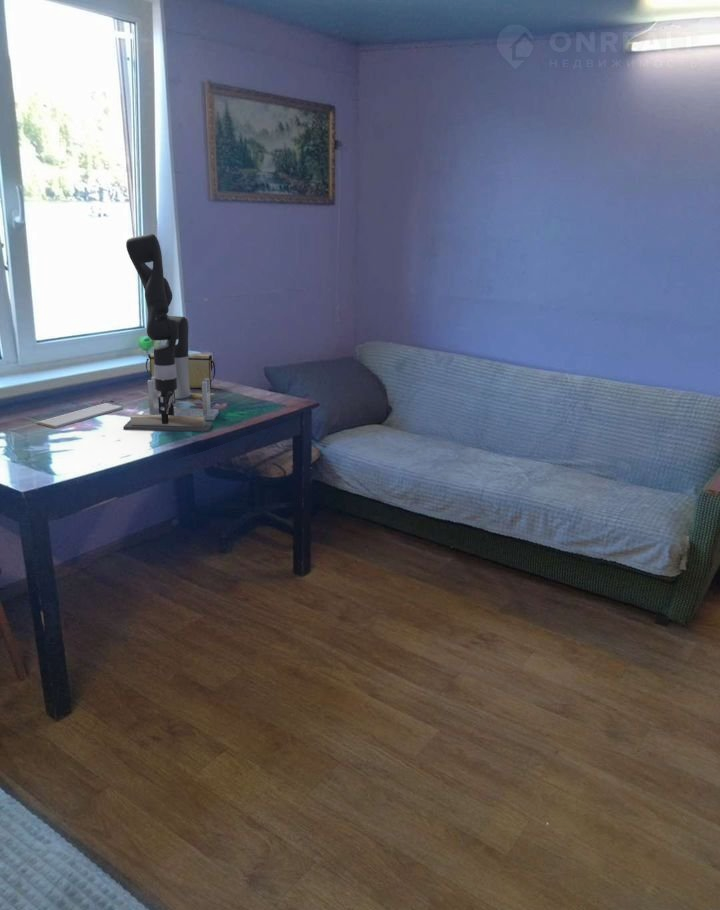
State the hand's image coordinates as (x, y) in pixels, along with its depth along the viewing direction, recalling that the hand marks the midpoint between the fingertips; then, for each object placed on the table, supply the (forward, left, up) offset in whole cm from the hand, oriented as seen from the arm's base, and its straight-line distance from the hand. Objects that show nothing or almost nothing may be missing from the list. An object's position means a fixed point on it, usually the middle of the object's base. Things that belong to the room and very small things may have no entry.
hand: (168, 420), depth 253 cm
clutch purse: (-60, -8, -3) cm, 60 cm away
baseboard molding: (-12, -36, -3) cm, 38 cm away
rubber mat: (0, 0, -3) cm, 3 cm away
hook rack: (-15, +1, -3) cm, 15 cm away
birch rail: (0, 0, -2) cm, 2 cm away
